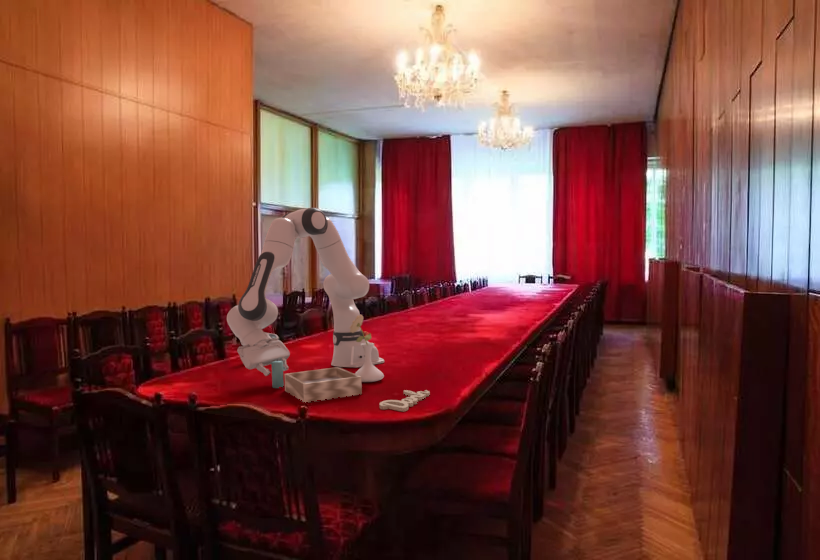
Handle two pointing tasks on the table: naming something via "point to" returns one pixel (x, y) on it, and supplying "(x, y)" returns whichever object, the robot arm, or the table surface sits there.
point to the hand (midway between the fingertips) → (277, 372)
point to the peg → (277, 374)
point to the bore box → (323, 384)
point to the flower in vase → (366, 355)
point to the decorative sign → (404, 401)
